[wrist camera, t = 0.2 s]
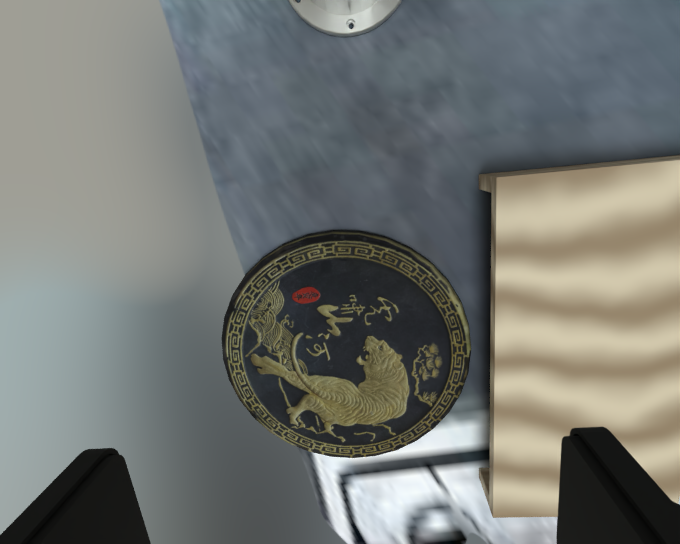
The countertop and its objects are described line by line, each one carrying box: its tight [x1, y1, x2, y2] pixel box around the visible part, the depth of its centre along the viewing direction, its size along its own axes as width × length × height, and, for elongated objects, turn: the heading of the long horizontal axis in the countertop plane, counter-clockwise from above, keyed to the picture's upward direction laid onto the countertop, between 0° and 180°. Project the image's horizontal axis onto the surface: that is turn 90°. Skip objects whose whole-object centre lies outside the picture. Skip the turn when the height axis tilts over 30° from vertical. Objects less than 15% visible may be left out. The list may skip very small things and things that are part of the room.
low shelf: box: [479, 155, 680, 518], centre depth 43 cm, size 39×20×6 cm, turn 6°
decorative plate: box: [222, 230, 471, 458], centre depth 47 cm, size 30×2×30 cm
